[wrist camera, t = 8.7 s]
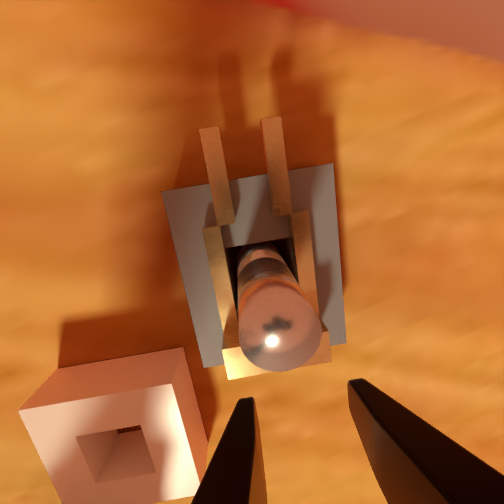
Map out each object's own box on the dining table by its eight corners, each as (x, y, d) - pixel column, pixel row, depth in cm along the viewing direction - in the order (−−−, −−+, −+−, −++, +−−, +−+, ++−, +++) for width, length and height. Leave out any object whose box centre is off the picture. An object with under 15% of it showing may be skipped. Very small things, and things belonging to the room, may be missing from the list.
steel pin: (282, 277, 20) (325, 363, 11) (240, 284, 20) (246, 378, 11) (277, 236, 20) (317, 290, 10) (233, 243, 20) (232, 305, 10)
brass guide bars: (317, 334, 18) (331, 361, 16) (229, 350, 18) (228, 379, 15) (294, 117, 15) (307, 103, 12) (184, 134, 15) (173, 124, 12)
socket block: (331, 321, 22) (346, 343, 19) (208, 342, 22) (203, 368, 19) (317, 165, 18) (333, 163, 16) (172, 189, 18) (160, 191, 15)
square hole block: (208, 443, 24) (203, 493, 20) (96, 463, 24) (69, 518, 20) (183, 346, 21) (171, 383, 18) (57, 368, 21) (17, 410, 17)
